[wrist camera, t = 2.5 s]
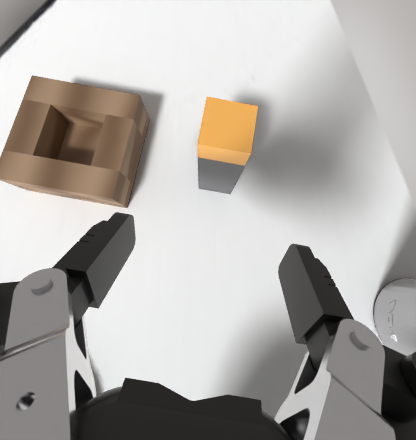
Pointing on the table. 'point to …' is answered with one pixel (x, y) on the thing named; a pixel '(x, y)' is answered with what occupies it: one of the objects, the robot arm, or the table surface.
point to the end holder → (75, 142)
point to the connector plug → (224, 143)
